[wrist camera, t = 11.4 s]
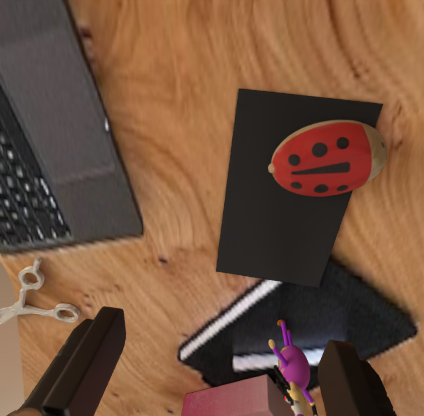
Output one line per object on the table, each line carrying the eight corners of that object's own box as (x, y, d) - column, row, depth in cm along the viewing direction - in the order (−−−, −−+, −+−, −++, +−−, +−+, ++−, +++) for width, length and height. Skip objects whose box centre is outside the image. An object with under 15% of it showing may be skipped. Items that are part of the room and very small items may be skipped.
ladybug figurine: (381, 181, 25) (399, 196, 22) (273, 199, 27) (276, 215, 24) (381, 106, 22) (403, 111, 19) (262, 133, 25) (263, 142, 21)
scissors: (88, 316, 38) (-2, 349, 44) (91, 312, 38) (2, 345, 44) (36, 259, 34) (-55, 303, 40) (40, 255, 35) (-50, 299, 41)
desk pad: (238, 88, 24) (238, 88, 23) (381, 103, 23) (383, 104, 22) (216, 270, 32) (215, 271, 32) (317, 285, 32) (318, 287, 31)
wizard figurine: (256, 298, 34) (259, 402, 23) (280, 290, 33) (295, 394, 22) (294, 354, 37) (312, 467, 27) (316, 349, 36) (344, 464, 25)
